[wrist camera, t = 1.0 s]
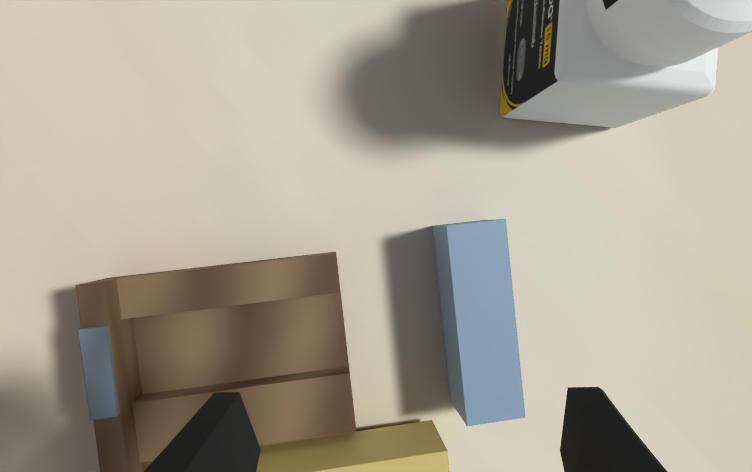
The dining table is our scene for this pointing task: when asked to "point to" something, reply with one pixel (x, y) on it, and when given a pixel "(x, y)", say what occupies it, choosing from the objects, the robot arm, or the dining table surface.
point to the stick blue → (479, 320)
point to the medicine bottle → (613, 57)
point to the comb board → (214, 353)
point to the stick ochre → (361, 451)
